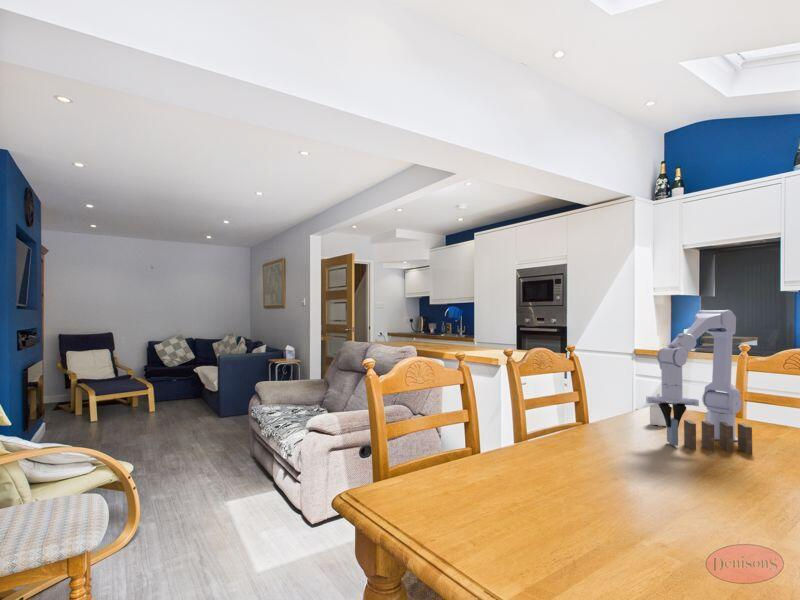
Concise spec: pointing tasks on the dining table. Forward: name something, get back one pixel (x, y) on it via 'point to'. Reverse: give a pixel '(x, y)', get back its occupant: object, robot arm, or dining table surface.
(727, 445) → the domino
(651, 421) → the eye dropper bottle
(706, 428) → the domino
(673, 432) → the domino
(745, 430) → the domino
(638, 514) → the dining table surface
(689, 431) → the domino
